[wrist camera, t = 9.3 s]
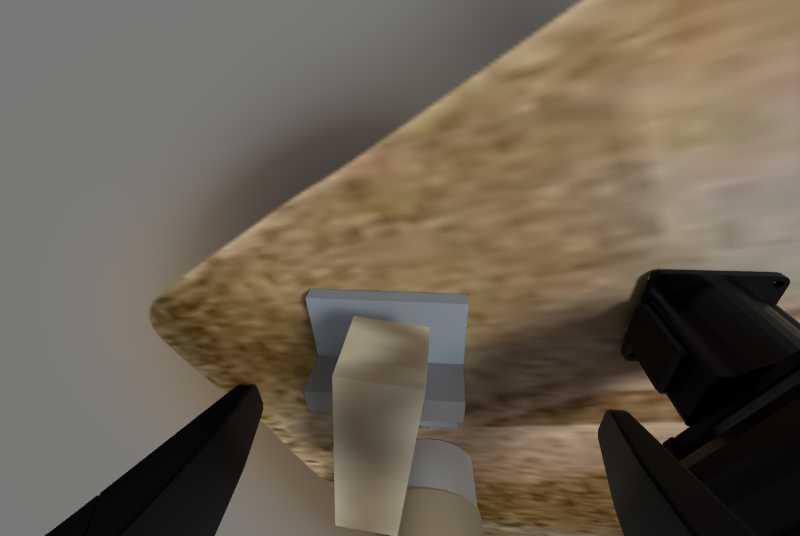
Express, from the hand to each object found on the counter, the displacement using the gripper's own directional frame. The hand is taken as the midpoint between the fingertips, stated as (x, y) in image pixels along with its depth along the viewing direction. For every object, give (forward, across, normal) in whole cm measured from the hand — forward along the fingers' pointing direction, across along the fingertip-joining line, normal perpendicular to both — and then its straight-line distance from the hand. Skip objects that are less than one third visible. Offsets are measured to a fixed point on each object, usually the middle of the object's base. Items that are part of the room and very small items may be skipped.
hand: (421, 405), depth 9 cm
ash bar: (+8, +3, +11) cm, 14 cm away
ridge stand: (+12, +3, +11) cm, 17 cm away
